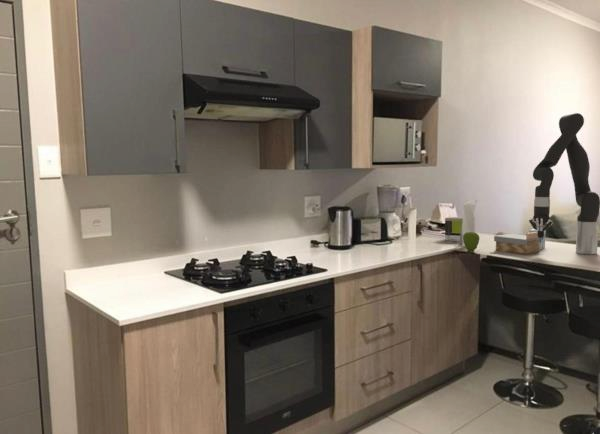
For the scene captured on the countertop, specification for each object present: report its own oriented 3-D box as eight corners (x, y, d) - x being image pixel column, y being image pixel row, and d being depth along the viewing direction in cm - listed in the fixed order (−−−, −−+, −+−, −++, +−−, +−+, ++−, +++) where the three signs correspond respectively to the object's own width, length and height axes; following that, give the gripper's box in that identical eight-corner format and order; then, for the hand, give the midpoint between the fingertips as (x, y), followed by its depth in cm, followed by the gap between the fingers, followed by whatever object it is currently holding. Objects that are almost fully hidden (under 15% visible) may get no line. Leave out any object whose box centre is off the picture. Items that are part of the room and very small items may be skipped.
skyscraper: (473, 245, 304) (474, 199, 301) (476, 247, 296) (478, 200, 293) (459, 245, 305) (460, 199, 302) (462, 247, 297) (463, 200, 294)
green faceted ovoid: (482, 251, 281) (482, 231, 280) (471, 253, 277) (472, 232, 276) (470, 249, 289) (470, 229, 288) (459, 251, 285) (459, 230, 283)
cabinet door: (541, 242, 277) (541, 231, 277) (526, 245, 269) (526, 234, 268) (509, 238, 293) (509, 228, 292) (494, 241, 284) (494, 230, 283)
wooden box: (539, 252, 278) (539, 239, 277) (526, 254, 270) (526, 241, 270) (508, 248, 292) (509, 236, 292) (495, 250, 285) (496, 238, 284)
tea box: (472, 240, 324) (473, 217, 323) (468, 242, 316) (469, 218, 314) (448, 238, 332) (449, 216, 331) (444, 240, 324) (444, 217, 322)
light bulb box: (541, 250, 285) (541, 230, 284) (528, 248, 289) (528, 230, 288) (545, 247, 293) (546, 228, 292) (532, 246, 298) (533, 228, 296)
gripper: (558, 205, 265) (556, 238, 267) (533, 204, 275) (532, 235, 277) (550, 206, 260) (549, 240, 262) (526, 205, 271) (525, 237, 273)
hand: (540, 237), depth 270 cm, fingers closed
